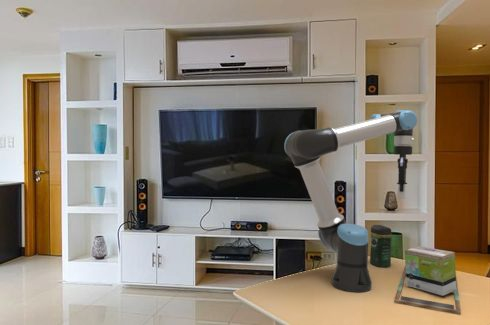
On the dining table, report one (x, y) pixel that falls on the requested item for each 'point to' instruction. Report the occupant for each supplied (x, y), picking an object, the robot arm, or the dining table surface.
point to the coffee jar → (380, 246)
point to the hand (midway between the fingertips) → (401, 198)
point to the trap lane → (426, 303)
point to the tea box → (430, 270)
